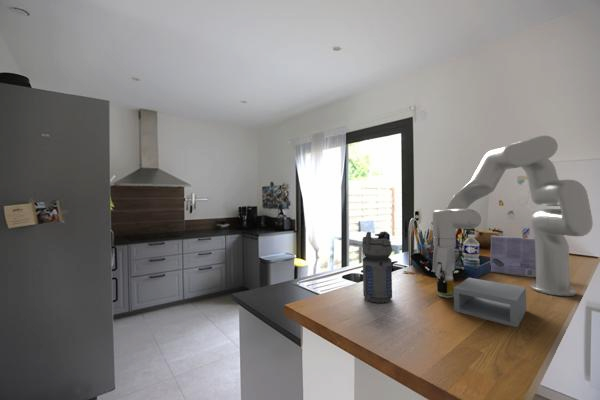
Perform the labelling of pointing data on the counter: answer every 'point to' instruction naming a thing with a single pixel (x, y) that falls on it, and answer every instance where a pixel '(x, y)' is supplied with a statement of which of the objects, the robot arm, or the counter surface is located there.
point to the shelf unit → (491, 301)
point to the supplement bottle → (448, 287)
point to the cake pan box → (513, 256)
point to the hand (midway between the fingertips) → (445, 290)
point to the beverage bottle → (377, 268)
